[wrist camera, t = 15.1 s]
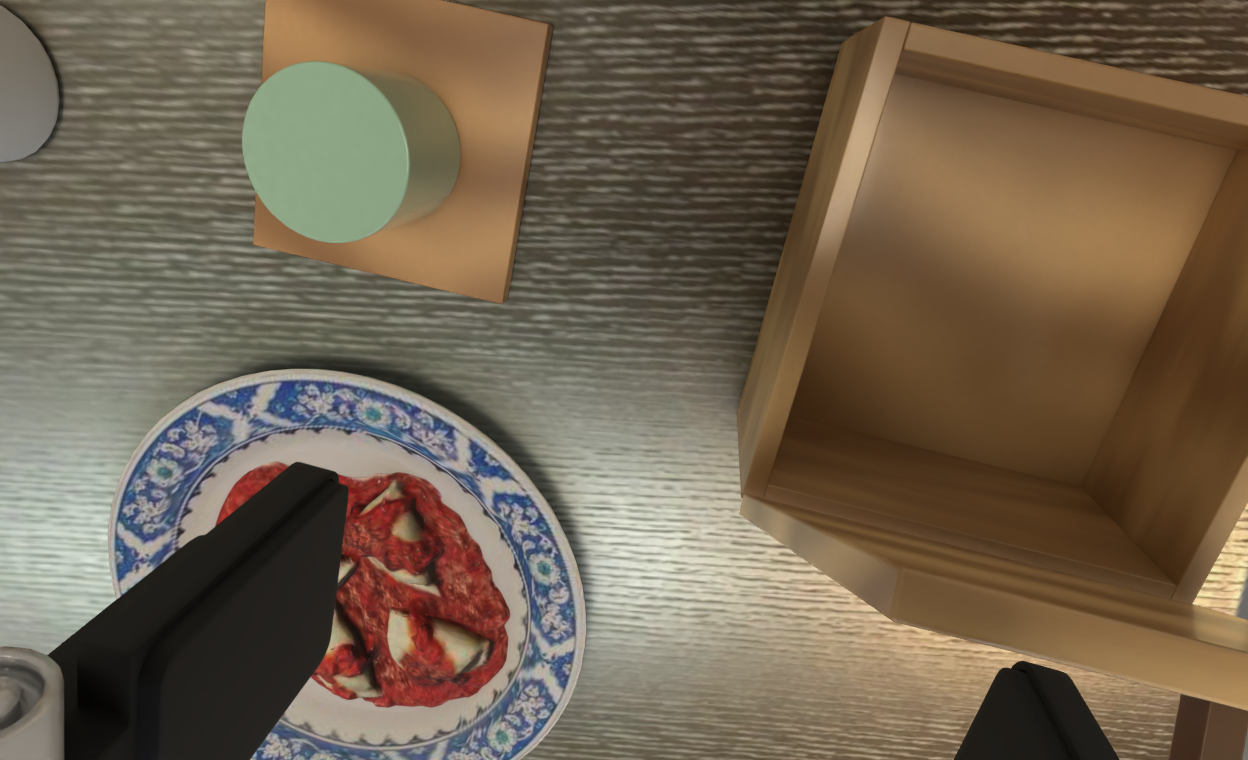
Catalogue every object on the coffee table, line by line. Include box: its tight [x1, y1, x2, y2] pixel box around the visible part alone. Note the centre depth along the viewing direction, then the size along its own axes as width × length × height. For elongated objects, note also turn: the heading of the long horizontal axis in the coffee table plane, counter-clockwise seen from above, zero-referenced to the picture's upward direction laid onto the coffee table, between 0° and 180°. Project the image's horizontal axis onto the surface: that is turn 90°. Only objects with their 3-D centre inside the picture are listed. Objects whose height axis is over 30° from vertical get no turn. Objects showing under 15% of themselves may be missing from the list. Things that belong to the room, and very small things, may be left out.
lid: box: [739, 494, 1248, 760], centre depth 19 cm, size 17×17×5 cm
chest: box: [737, 16, 1248, 604], centre depth 30 cm, size 17×17×9 cm
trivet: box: [253, 0, 553, 304], centre depth 35 cm, size 12×12×1 cm
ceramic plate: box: [108, 369, 586, 760], centre depth 42 cm, size 26×26×3 cm
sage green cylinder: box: [242, 61, 461, 243], centre depth 31 cm, size 6×6×6 cm
